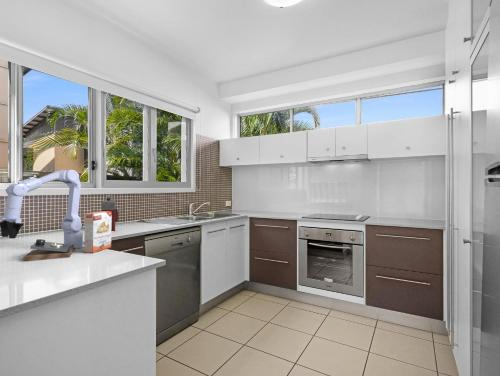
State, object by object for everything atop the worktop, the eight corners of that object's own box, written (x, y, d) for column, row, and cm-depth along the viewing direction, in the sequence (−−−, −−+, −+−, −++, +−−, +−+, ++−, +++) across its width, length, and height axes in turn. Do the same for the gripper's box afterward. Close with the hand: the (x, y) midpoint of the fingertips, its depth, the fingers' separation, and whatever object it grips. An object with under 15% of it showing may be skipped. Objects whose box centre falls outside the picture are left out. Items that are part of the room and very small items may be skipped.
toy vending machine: (118, 231, 211) (118, 194, 211) (102, 232, 205) (102, 195, 205) (117, 229, 219) (117, 194, 219) (101, 230, 213) (101, 194, 213)
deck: (70, 246, 148) (72, 240, 148) (67, 252, 136) (68, 245, 137) (37, 243, 141) (38, 237, 142) (30, 248, 130) (31, 241, 130)
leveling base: (73, 250, 150) (73, 244, 150) (69, 257, 136) (69, 250, 136) (32, 253, 142) (32, 247, 142) (23, 261, 128) (23, 254, 128)
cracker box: (93, 253, 143) (93, 213, 143) (83, 252, 145) (83, 213, 144) (112, 247, 157) (112, 211, 157) (102, 247, 158) (103, 210, 158)
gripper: (-4, 207, 131) (-10, 236, 129) (10, 208, 124) (4, 239, 122) (14, 208, 137) (9, 236, 135) (28, 209, 130) (23, 238, 128)
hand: (8, 237), depth 129 cm, fingers open, 7 cm apart
